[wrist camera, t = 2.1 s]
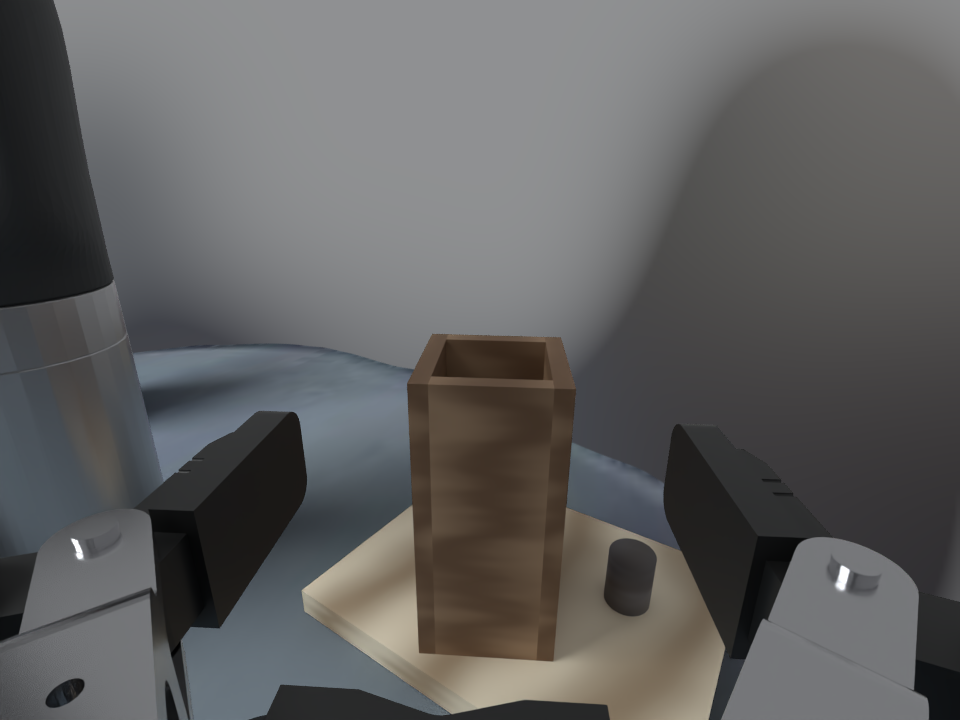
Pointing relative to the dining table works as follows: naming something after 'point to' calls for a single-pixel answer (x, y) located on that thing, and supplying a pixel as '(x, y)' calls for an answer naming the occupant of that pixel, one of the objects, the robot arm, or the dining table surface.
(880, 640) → the robot arm
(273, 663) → the dining table surface
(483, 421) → the sleeve
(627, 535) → the board
